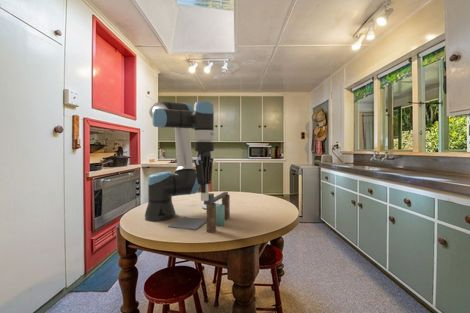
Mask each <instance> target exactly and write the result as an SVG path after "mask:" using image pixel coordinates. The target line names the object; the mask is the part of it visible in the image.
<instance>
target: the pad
mask: <svg viewBox="0 0 470 313" xmlns="http://www.w3.org/2000/svg"><path fill="white" fill-rule="evenodd" d="M205 224H207V218H201V217H190V216H183V217H181V218H179V219H178V220H176V221H174V222H172V223H170V224H169V225H168V226H167V227H168V228H173V229H180V230H181V229H183V230H191V231H197V230H198V229H199V228H201V227H202V226H203V225H205Z"/></svg>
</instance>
